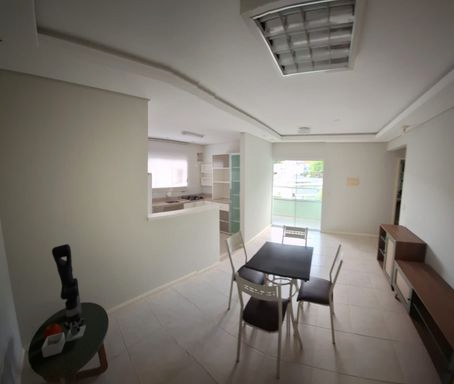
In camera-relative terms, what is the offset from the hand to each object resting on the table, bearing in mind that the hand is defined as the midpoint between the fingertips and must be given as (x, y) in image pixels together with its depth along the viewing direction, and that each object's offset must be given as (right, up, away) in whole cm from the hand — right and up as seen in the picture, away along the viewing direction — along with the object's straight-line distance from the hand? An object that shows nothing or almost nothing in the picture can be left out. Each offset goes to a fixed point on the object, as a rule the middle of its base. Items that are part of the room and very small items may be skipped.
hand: (75, 332), depth 159 cm
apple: (-20, -7, +4) cm, 22 cm away
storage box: (-11, -8, -6) cm, 15 cm away
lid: (0, -2, 0) cm, 2 cm away
